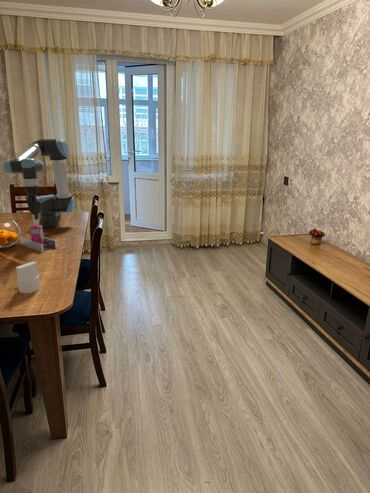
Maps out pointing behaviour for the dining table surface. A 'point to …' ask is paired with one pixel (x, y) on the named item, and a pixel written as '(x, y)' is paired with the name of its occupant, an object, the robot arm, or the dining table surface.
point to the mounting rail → (39, 244)
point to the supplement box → (37, 234)
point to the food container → (58, 215)
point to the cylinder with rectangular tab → (28, 277)
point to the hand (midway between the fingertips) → (36, 224)
